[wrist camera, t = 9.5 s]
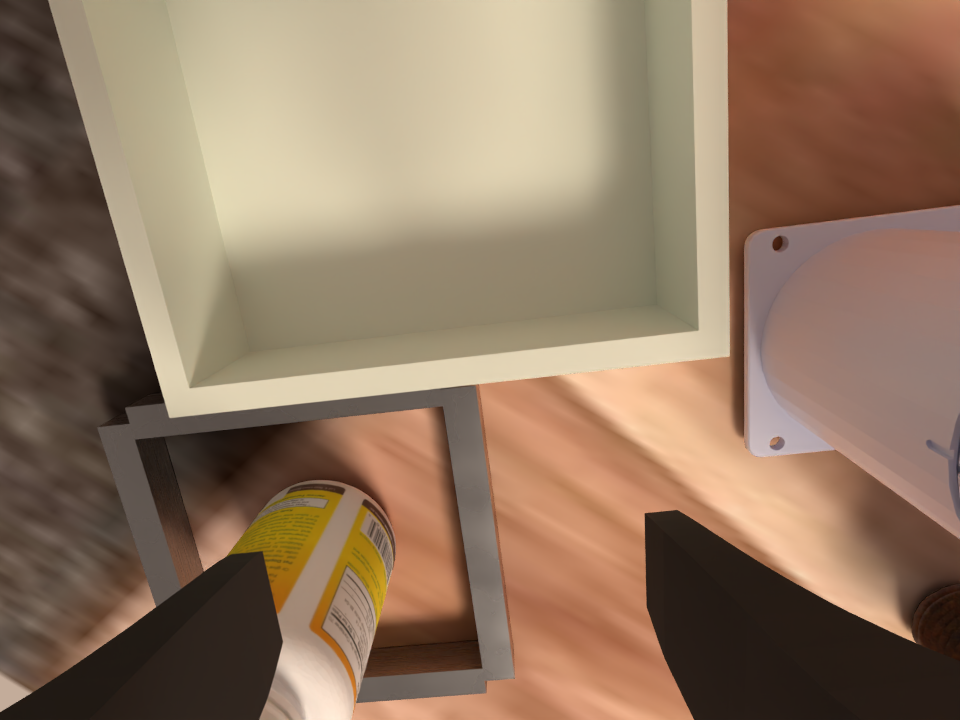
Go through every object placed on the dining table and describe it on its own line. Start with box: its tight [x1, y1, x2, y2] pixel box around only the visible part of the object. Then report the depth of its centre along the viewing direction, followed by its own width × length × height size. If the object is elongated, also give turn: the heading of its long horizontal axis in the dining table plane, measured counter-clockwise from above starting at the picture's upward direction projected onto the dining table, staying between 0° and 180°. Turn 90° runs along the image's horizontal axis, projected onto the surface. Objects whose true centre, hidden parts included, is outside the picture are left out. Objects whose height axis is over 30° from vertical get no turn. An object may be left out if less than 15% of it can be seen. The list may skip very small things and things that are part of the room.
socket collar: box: [97, 384, 515, 703], centre depth 22 cm, size 13×13×2 cm
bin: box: [48, 0, 730, 418], centre depth 16 cm, size 16×16×5 cm
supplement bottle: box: [227, 480, 396, 720], centre depth 17 cm, size 6×6×10 cm
